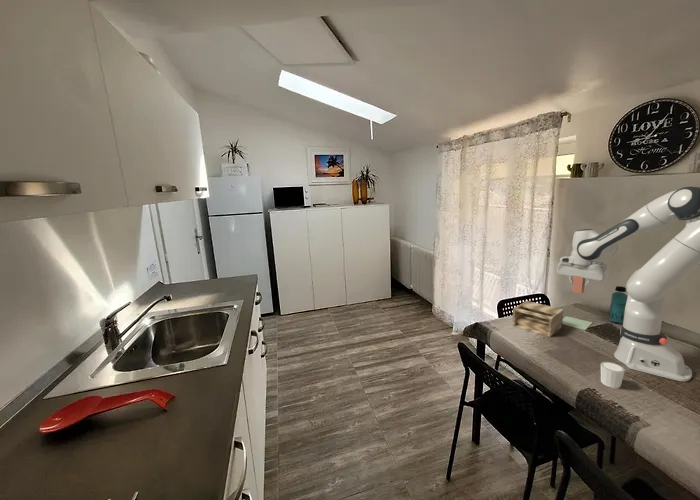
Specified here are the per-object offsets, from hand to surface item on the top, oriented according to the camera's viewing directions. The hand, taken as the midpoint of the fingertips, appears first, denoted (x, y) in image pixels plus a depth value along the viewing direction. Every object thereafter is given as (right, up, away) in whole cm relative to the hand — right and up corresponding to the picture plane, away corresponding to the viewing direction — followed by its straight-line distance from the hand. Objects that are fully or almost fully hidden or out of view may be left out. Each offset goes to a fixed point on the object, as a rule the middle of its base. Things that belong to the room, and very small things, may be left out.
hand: (578, 285), depth 157 cm
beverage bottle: (+22, -20, +2) cm, 30 cm away
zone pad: (+1, -21, +4) cm, 21 cm away
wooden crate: (-20, -22, +3) cm, 30 cm away
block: (0, -4, +1) cm, 4 cm away
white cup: (-22, -32, -45) cm, 59 cm away
